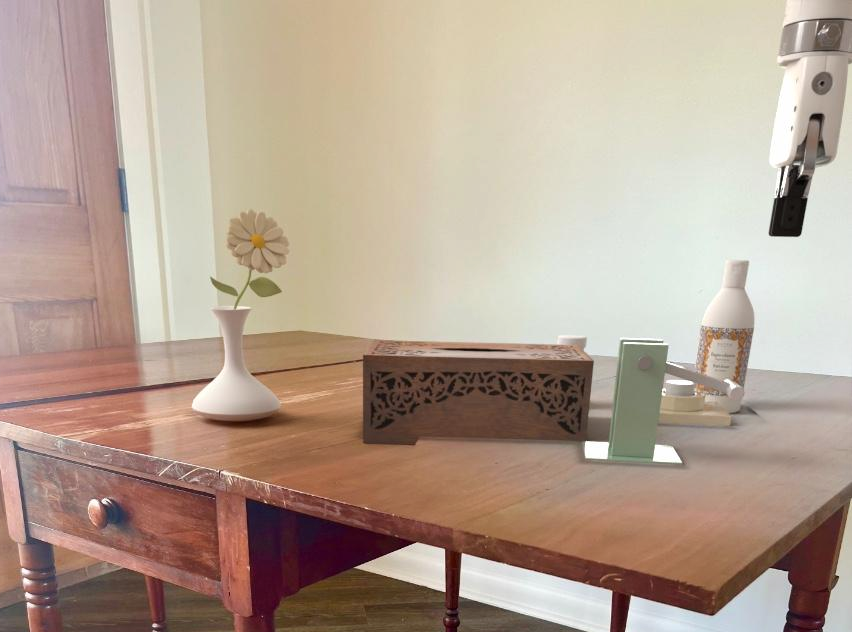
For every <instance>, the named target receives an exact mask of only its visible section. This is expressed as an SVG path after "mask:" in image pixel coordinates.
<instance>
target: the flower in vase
mask: <svg viewBox="0 0 852 632" xmlns="http://www.w3.org/2000/svg"><path fill="white" fill-rule="evenodd" d="M227 228H228V229H227V231H226V232H225V234H226V237H225V240H226V242H225V246H226V248H227V249H228V250H230V254H231V256H232V257H234V258H236V264H238V265H239V266H243V267H246V268H248V275H247V279H246V282H245V284H244V286H243V288H242V290H241V292H240V293H238V291H237V289H236V288H235V287H233V286H231V285H228V284H225V283H222V282H220V281H219V280H217V279H215V278H214V277H212V276H211V275H210V276H209V279H210V281H211V283H212V285H213V287H214V288H215V289H216V290H218V291H220V292H222V293H225V294H228V295H230V296H233V297H237V298H236V300H235V303H234V304H233V305H218V306H211V307H210V310H211V311H212V312H213V314H214V315H215V317H216V318H217V321H218V323H219V326H220V330H221V333H222V338H223V347H224V362H223V363H224V365H223V367H222V370H221V371H220V372H219V373H218V375H217V376H216V377H215V378H214V379H213V380H212V381H210V383H208V384H207V385H206V386H205V387H204V388H203V389H201V391H200V392H199V393H198V394H197V395H196V397H195V398H194V399H193V400H192V405H191V409H192V410H193V411H194V413H195V414H197V416H201V417H203V418H206V419H208V420H215V421H222V422H250V421H255V420H261V419H266V418H269V417H270V416H272V415H274V414H277V413H278V412H279V410H280V409H281V407H282V404H281V401H280V399H279V398H278V397H277V396H276V394H275V393H274V392H273V391H272V390H270V389H269V388H268V387H267V386H266V385H265V384H264V383H262V382H261V381H259V379H257V378H256V377H255V376H254V375H252V374H251V373H250V371H249V370H248V369H247V367H246V364H245V361H244V355H243V353H244V352H243V338H244V337H243V336H244V330H245V329H244V328H245V325H246V324H245V323H246V320H247V318H248V317H249V314H250V312H251V311H252V307H251V306H244V305H239V303H240V301H241V299H242V297H243V295H244V294H245V292H246V290H247V288H248V286H249V288H250V290H251V291H253V293H254V294H255V295H257V296H258V297H259V298H269V297H272V296H276V295H278V294H281V293H283V291H282V289H281V288H280V286H278V284H276V282H274V281H273V280H271V279H270V278H268V277H266V276H258V277H256V278H253V279H252V280H251V277H252V271H255V270H256V271H257V272H258V273H260V274H263V273H264V274H268V273H272V272H273V268H274V269H279V268H281V267H282V266H284V265H286V263H287V256H286V255H288V254H289V252H290V249H289V248H288V247H289V245H290V242H289V241H288V238H287V236H285V235H284V229H283V228H282V227H279V226H278V222H277V221H276V220H275V219H274V217H272V216H266V213H265V212H264V211H262V210H261V211H258V212H256V211H254V209H252V208H249V209H247V210H246V212H245V211H244V210H241V211H240V212H239V213H238V216H233V217H229V219H228V224H227Z"/></svg>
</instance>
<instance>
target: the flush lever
mask: <svg viewBox="0 0 852 632" xmlns="http://www.w3.org/2000/svg"><path fill="white" fill-rule="evenodd" d="M665 374H667V375H670V376H674V377H676V378H678V379H682V380H684V381H691V382H694V383H697V384H700V385H703V386H706V387H709V388H712V389H715V390H717V391H720V392H723V393H725V394H727V395H728V396H729V397H730V398H731V399H732V400H734V401H738V400H741V399H742V400H743V398H744V396H745V393H746V392H745V388H744V389H743V388H742V387H740V386H739V385H738V384H737V383H735V382H734V381H733V380H731V379H727V380H724V381H722V380H719V379H716V378H713V377H710V376H707V375H704V374H701V373H698V372H695V371H694V370H693V369H689V368H686V367H684V366H680V365H677V364H675V363H671V362H669V361H666V369H665Z"/></svg>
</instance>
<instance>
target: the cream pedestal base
mask: <svg viewBox="0 0 852 632" xmlns="http://www.w3.org/2000/svg"><path fill="white" fill-rule="evenodd" d="M705 396H706V395H705V394H704V393H702V392H698V391H694V393H693V395H691V396H678V395H669V394H665V388H663V391H662V399H661V406H660V414H659V421H658V424H659V423H660V424H679V425H680V424H681V425H682V424H683V425H685V424H686V425H705V426H706V425H707V426H725V427H726V426H728V427H730V426H731V424H732V417H733V416H732V414H729V413H728V412H727V411H726V410H725V409H724V408H723V407H722V406H721V405H720V404H719V403H718V402H707V401H705Z"/></svg>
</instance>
